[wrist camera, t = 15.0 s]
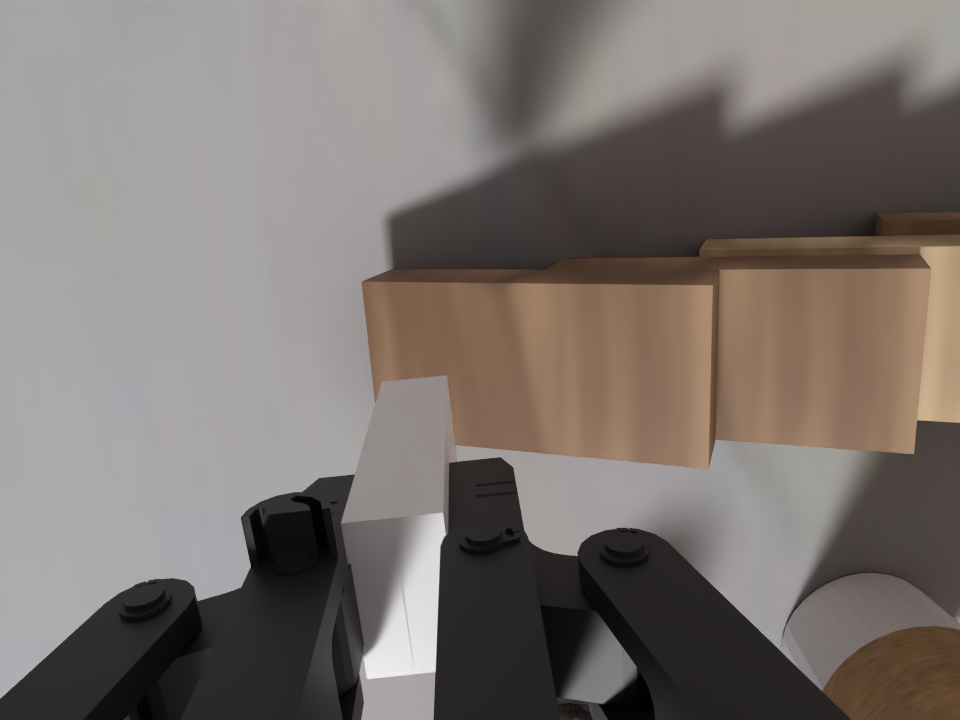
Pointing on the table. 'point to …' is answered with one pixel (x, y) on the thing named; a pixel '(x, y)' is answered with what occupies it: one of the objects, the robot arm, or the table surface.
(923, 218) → the domino
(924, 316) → the domino
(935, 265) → the oak domino
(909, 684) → the coffee cup
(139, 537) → the table surface
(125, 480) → the table surface
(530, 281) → the domino
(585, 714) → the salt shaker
